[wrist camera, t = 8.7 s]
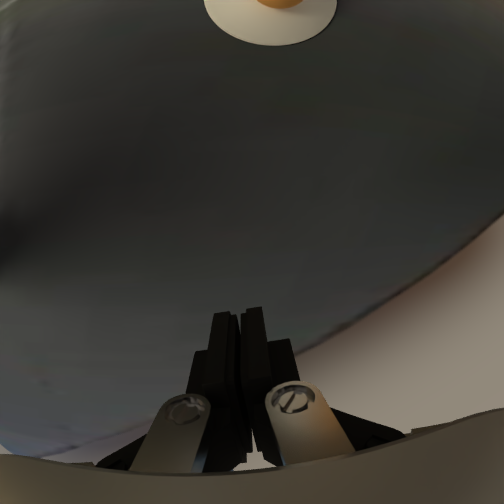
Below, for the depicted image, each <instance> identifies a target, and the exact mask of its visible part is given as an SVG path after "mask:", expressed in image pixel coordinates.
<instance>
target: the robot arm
mask: <svg viewBox="0 0 504 504" xmlns="http://www.w3.org/2000/svg"><path fill="white" fill-rule="evenodd" d="M252 431H253V435H254V439H255V443H256V447H257V451H258V452H259V451H260V452H261V451H262V453H263V457H264V460H266V461H268V462H270V463H272V464H273V465H275V466H277V467H271V468H263V469H253V470H243V471H234V470H233V468H234V467H236V466H237V465H238V464H240V463H246V462H247V453H252V452H253V446H252ZM0 504H504V408H499V409H492V410H489V411H485V412H480V413H476V414H473V415H470V416H467V417H463V418H461V419H457V420H454V421H452V422H448V423H443V424H438V425H433V426H428V427H421V428H416V429H411V433H408V434H403V433H402V432H400V431H398V430H396V429H394V428H391V427H387V426H384V425H381V424H377V423H374V422H371V421H368V420H365V419H362V418H359V417H356V416H353V415H350V414H347V413H344V412H341V411H339V410H336V409H333V408H330V407H329V405H328V404H327V402H326V400H325V399H324V397H323V395H322V394H321V392H320V390H319V389H318V388H317V387H316V386H314V385H312V384H311V383H308V382H303V381H300V378H299V374H298V370H297V366H296V362H295V358H294V354H293V350H292V346H291V343H290V339H289V338H288V339H282V340H276V341H270V342H267V337H266V330H265V324H264V318H263V312H262V306H261V307H255V308H248V309H246V313H242V314H241V335H240V330H239V325H238V320H237V315H236V314H235V315H231V314H230V311H228V312H220V313H214V316H213V321H212V327H211V333H210V338H209V344H208V350H202V351H196V352H195V354H194V358H193V363H192V367H191V372H190V376H189V381H188V385H187V390H186V394H182V395H178V396H175V397H173V398H171V399H169V400H168V401H167V402H165V403H164V404H163V405H162V407H161V408H160V410H159V412H158V413H157V415H156V417H155V419H154V421H153V423H152V425H151V427H150V429H149V431H148V433H147V434H145V435H144V436H142V437H141V438H139V439H137V440H135V441H134V442H132V443H130V444H128V445H127V446H125V447H123V448H121V449H120V450H118V451H116V452H114V453H112V454H111V455H109V456H107V457H105V458H104V459H102V460H101V461H99V462H98V463H97V465H94V464H93V462H85V463H63V462H57V461H51V460H45V459H40V458H35V457H30V456H21V455H13V454H0Z"/></svg>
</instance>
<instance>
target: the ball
mask: <svg viewBox="0 0 504 504" xmlns="http://www.w3.org/2000/svg"><path fill="white" fill-rule="evenodd" d="M257 1H258V2H260V3H261V4H263V5H265V6H267V7H271V8H276V9H285V8H290V7H293V6H296V5H297V4H299V3H301V2H302V1H303V0H257Z"/></svg>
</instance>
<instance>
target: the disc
mask: <svg viewBox="0 0 504 504" xmlns="http://www.w3.org/2000/svg"><path fill="white" fill-rule="evenodd" d="M204 3H205V7H206V10H207V12H208V14H209V16H210V17H211V19H212V20H213V21H214V22H215V23H216V25H217V26H219V27H220V28H221V29H222V30H223V31H225V32H226V33H228V34H230V35H231V36H233V37H235V38H238V39H240V40H243V41H246V42H249V43H253V44H259V45H267V46H283V45H290V44H295V43H299V42H302V41H305V40H307V39H309V38H311V37H313V36H315V35H316V34H318V33H319V32H321V31H322V30H323V29H324V28H325V27H326V26H327V25H328V24H329V22H330V21H331V19H332V17H333V16H334V13H335V10H336V5H337V0H303V1H302V2H301V3H299V4H297V5H296V6H293V7H290V8H285V9H276V8H271V7H267V6H265V5H263V4H261V3H260V2H258V1H257V0H204Z"/></svg>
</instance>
